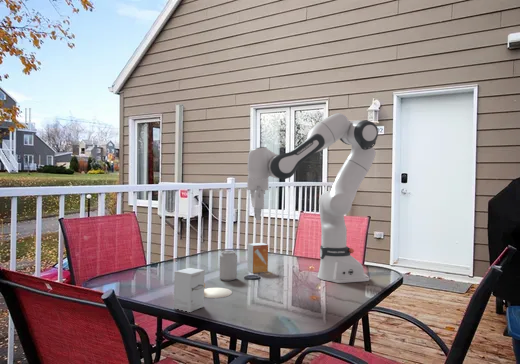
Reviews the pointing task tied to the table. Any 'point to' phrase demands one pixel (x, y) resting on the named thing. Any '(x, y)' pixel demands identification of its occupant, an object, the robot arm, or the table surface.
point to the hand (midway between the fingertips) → (257, 218)
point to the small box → (257, 257)
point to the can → (228, 265)
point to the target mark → (216, 292)
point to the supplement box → (189, 289)
